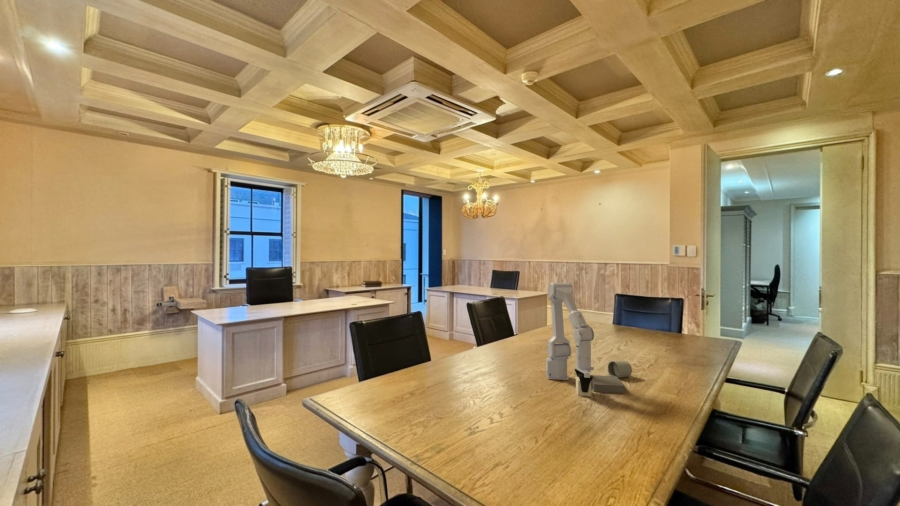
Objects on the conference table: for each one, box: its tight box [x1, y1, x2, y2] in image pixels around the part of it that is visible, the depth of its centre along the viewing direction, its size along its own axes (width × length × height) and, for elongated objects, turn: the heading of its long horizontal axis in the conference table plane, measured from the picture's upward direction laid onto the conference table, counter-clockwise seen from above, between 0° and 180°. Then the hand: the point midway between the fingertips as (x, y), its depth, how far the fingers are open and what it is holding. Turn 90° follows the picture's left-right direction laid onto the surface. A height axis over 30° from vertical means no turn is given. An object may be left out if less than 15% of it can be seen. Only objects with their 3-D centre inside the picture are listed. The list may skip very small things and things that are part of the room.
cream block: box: [575, 376, 592, 397], centre depth 150 cm, size 5×5×6 cm
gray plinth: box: [590, 374, 626, 394], centre depth 157 cm, size 12×12×3 cm
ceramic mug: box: [606, 360, 633, 379], centre depth 172 cm, size 11×8×8 cm
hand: (583, 389), depth 150 cm, fingers closed on cream block, 5 cm apart
